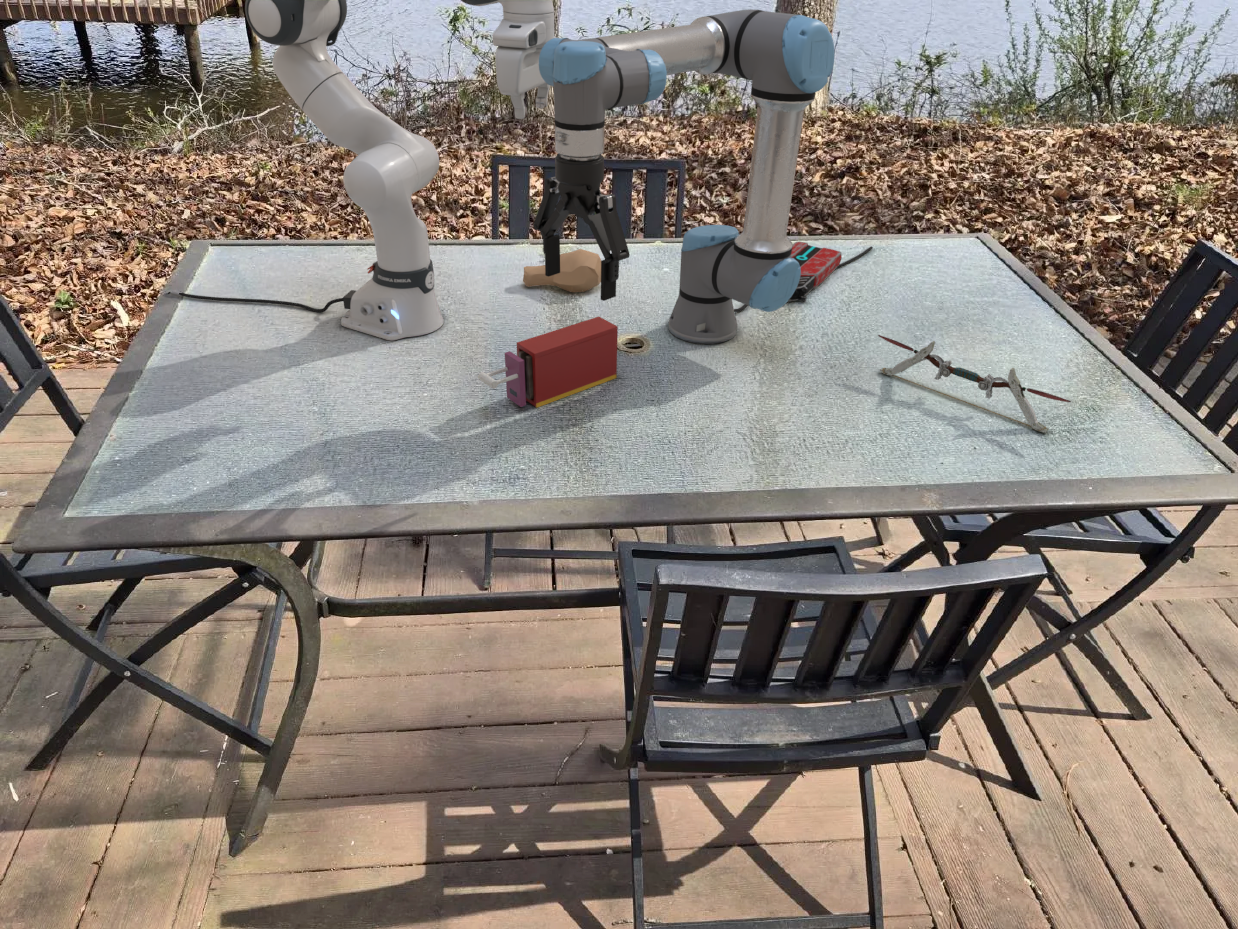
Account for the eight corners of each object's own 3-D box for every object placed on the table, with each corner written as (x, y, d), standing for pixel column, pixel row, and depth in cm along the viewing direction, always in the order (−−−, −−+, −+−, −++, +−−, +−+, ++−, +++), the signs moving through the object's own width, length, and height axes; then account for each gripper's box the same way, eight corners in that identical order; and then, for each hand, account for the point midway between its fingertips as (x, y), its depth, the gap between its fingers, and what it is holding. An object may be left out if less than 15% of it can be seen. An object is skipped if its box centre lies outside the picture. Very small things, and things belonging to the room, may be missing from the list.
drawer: (493, 417, 161) (490, 371, 156) (479, 407, 164) (476, 361, 159) (598, 378, 174) (598, 335, 169) (583, 369, 177) (583, 326, 172)
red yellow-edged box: (536, 407, 166) (534, 353, 160) (518, 395, 170) (516, 342, 163) (616, 377, 177) (618, 326, 170) (598, 366, 180) (598, 316, 174)
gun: (728, 271, 214) (803, 290, 206) (777, 233, 236) (846, 249, 228) (726, 288, 217) (800, 308, 209) (775, 249, 239) (843, 266, 231)
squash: (606, 296, 211) (601, 263, 205) (524, 303, 213) (517, 271, 207) (606, 272, 219) (602, 240, 213) (527, 279, 221) (521, 248, 214)
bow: (1060, 435, 162) (1077, 387, 156) (1056, 439, 161) (1073, 391, 155) (873, 366, 183) (882, 322, 178) (869, 369, 182) (878, 325, 177)
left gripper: (536, 21, 163) (538, 100, 170) (487, 35, 147) (492, 122, 154) (567, 23, 161) (568, 103, 169) (522, 38, 145) (525, 126, 153)
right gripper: (508, 142, 139) (514, 270, 150) (619, 176, 124) (616, 315, 136) (544, 134, 143) (547, 259, 155) (655, 167, 129) (649, 302, 140)
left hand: (531, 112), depth 161 cm, fingers open, 8 cm apart
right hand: (579, 285), depth 145 cm, fingers open, 13 cm apart
